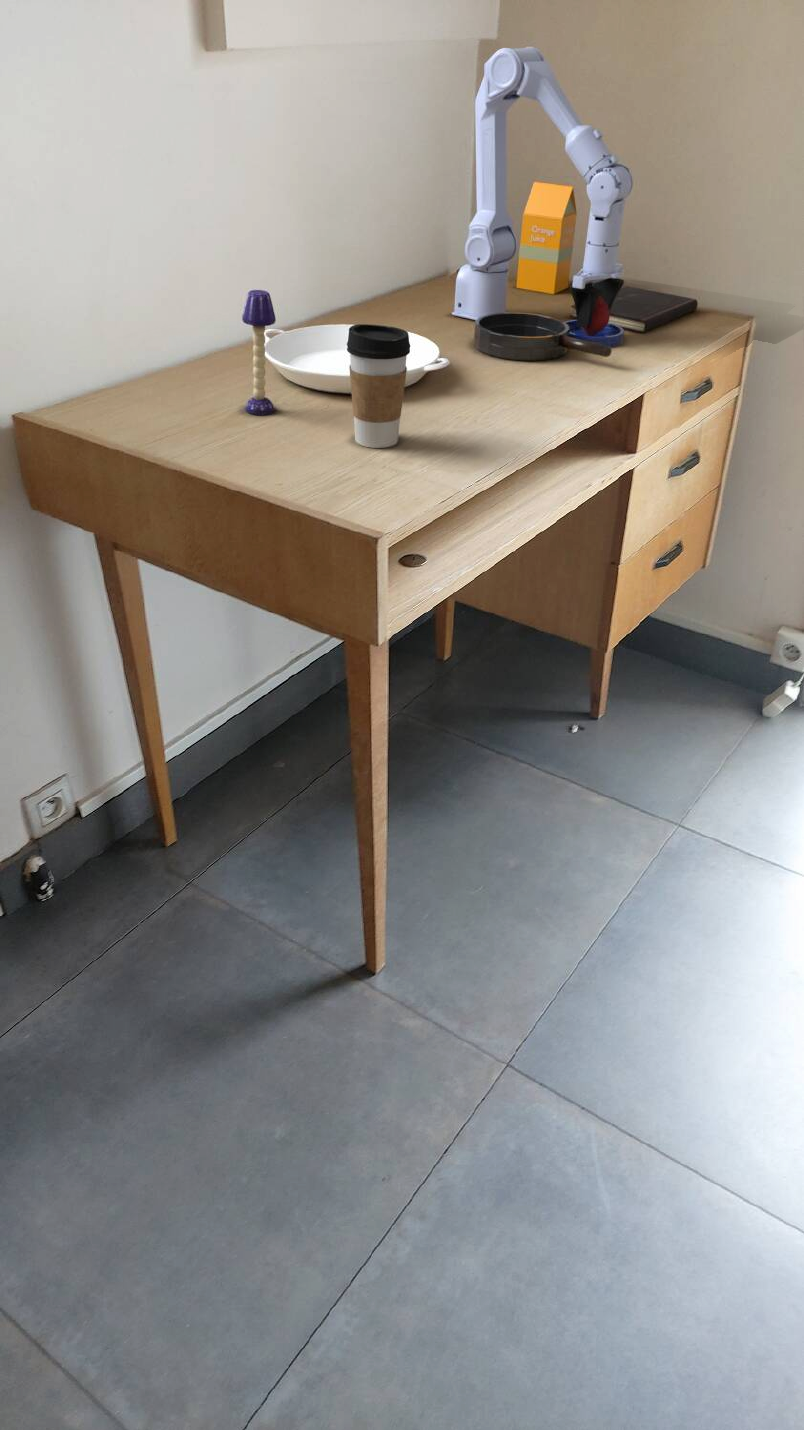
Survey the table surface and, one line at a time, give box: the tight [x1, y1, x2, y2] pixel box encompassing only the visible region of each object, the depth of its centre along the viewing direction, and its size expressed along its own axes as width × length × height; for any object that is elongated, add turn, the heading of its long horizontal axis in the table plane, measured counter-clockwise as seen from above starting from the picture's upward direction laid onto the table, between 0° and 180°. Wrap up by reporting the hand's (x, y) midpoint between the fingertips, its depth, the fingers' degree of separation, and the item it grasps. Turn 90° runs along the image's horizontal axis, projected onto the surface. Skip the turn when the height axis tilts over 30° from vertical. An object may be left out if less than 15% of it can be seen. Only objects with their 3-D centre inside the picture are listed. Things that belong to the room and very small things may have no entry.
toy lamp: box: [241, 289, 276, 416], centre depth 149 cm, size 5×5×17 cm
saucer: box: [564, 319, 625, 348], centre depth 192 cm, size 12×12×2 cm
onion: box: [581, 296, 609, 336], centre depth 190 cm, size 6×6×8 cm
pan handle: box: [559, 336, 613, 358], centre depth 178 cm, size 10×2×2 cm, turn 52°
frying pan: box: [473, 311, 570, 362], centre depth 184 cm, size 16×16×4 cm
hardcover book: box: [569, 285, 699, 334], centre depth 207 cm, size 16×23×2 cm
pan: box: [264, 323, 451, 395], centre depth 169 cm, size 34×28×4 cm
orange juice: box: [516, 180, 578, 295], centre depth 218 cm, size 8×9×20 cm
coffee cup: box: [347, 323, 410, 449], centre depth 141 cm, size 8×8×15 cm
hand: (591, 323), depth 191 cm, fingers closed on onion, 6 cm apart
